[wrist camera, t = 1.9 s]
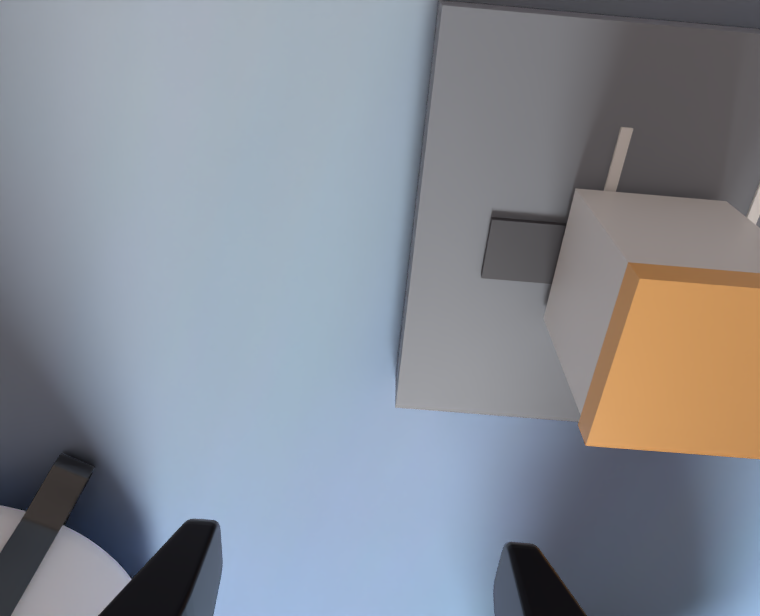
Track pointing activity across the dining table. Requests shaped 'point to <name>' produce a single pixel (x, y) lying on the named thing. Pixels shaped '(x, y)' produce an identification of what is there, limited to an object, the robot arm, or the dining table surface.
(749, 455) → the block
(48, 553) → the coffee press
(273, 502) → the dining table surface
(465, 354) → the console board
